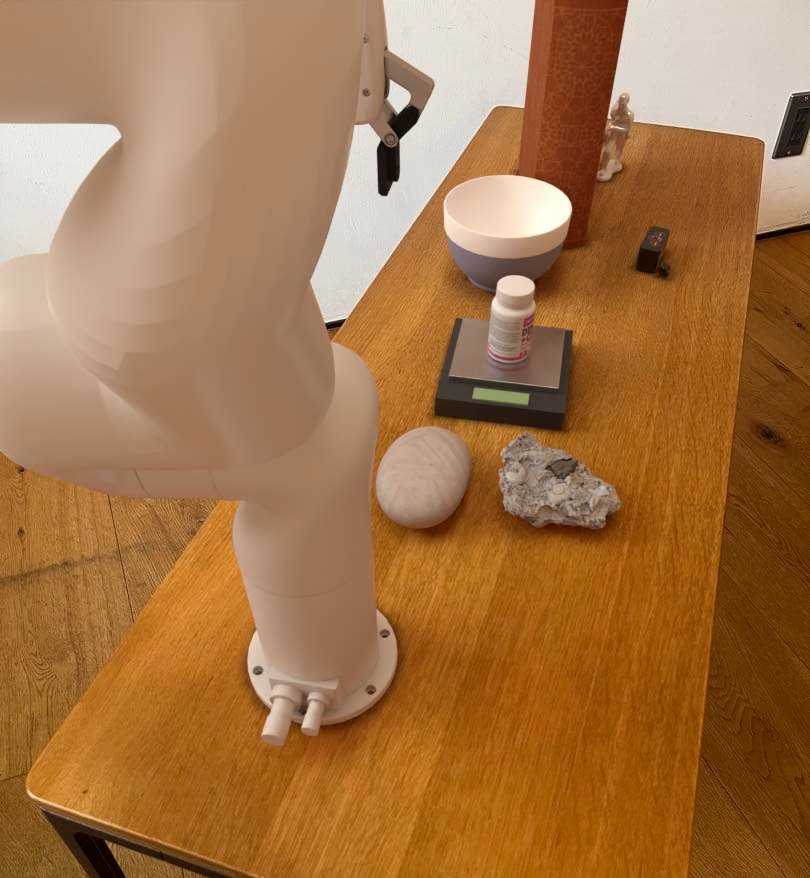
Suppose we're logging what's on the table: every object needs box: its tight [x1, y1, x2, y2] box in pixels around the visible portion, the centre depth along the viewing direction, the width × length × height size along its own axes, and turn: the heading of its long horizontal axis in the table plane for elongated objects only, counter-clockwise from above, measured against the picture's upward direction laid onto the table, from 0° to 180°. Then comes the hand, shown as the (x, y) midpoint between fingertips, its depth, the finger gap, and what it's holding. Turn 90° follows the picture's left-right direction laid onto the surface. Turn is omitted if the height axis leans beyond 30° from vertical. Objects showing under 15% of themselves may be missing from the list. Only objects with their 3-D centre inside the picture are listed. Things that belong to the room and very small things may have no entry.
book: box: [517, 0, 630, 250], centre depth 104 cm, size 23×8×30 cm, turn 178°
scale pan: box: [448, 317, 566, 394], centre depth 89 cm, size 11×12×1 cm
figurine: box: [596, 92, 635, 182], centre depth 118 cm, size 5×9×12 cm, turn 157°
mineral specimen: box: [497, 431, 623, 530], centre depth 76 cm, size 6×11×12 cm
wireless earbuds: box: [635, 225, 672, 278], centre depth 105 cm, size 5×7×3 cm, turn 155°
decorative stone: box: [375, 425, 472, 530], centre depth 77 cm, size 13×9×5 cm
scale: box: [434, 317, 574, 432], centre depth 89 cm, size 15×14×3 cm
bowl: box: [443, 174, 572, 293], centre depth 101 cm, size 16×16×10 cm
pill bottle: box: [487, 275, 537, 363], centre depth 85 cm, size 5×5×8 cm
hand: (330, 183), depth 66 cm, fingers open, 9 cm apart
